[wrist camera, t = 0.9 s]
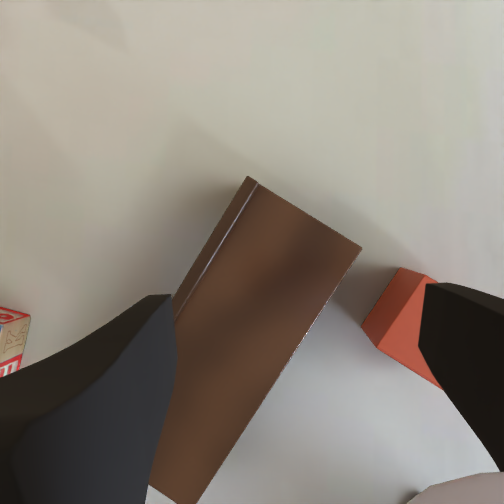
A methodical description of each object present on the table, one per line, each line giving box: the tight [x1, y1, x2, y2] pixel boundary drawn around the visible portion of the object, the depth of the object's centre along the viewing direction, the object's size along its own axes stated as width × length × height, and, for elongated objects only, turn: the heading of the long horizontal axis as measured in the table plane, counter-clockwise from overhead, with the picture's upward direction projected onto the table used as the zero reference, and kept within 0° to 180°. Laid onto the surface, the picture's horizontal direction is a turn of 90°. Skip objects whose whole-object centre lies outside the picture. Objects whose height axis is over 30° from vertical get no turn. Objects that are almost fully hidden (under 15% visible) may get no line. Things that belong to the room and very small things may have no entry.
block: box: [361, 267, 443, 390], centre depth 25 cm, size 5×5×5 cm
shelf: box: [148, 176, 362, 504], centre depth 26 cm, size 8×20×5 cm, turn 148°
